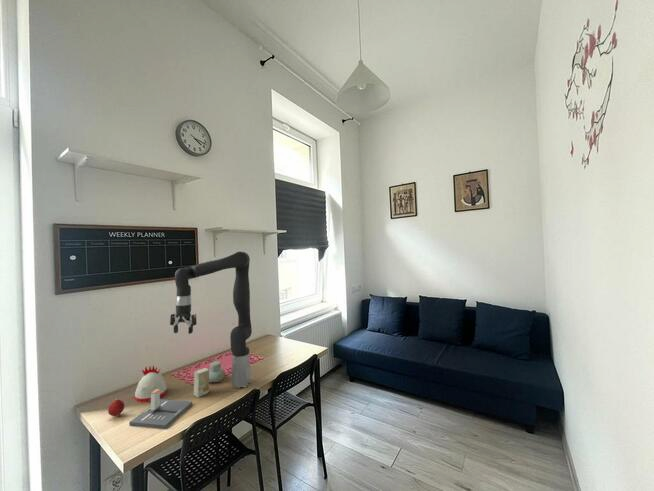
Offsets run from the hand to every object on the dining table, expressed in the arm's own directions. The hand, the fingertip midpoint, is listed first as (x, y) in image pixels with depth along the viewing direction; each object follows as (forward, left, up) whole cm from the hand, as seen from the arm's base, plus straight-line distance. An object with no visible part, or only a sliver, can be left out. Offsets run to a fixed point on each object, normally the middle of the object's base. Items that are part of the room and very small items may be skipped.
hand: (183, 333), depth 146 cm
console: (-7, +23, -30) cm, 39 cm away
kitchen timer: (+12, +8, -30) cm, 34 cm away
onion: (+13, +27, -30) cm, 43 cm away
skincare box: (-14, +4, -30) cm, 34 cm away
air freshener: (-13, -11, -30) cm, 35 cm away
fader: (-3, +23, -28) cm, 36 cm away
